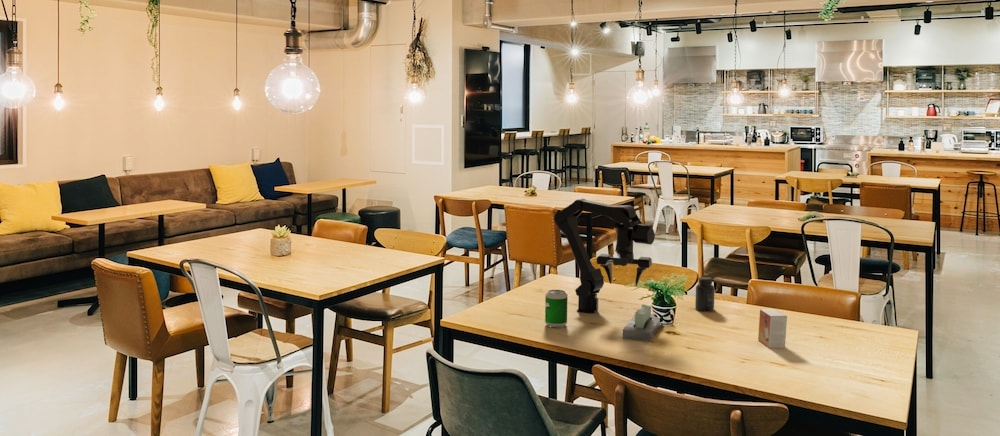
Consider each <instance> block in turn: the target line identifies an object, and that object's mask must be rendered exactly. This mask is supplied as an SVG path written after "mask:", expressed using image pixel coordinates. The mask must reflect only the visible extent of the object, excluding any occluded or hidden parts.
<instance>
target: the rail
mask: <svg viewBox="0 0 1000 436" xmlns="http://www.w3.org/2000/svg"><path fill="white" fill-rule="evenodd" d="M654 315H655V314H653V313H651V316H650V320H647V321H646V322H645V324H644V328H637V327H636V324H635V314H634V315H632V318H630V320H629V321H628V322H627V323H626V325H625V326H624V327H623V329H622V339H626V340H633V341H634V340H635V341H640V342H642V341H643V342H651V341H652V339H653V338H654V336H655V335H656V333H657V331H659V329H660V327H661V326H660V318H657V317H655V316H654Z"/></svg>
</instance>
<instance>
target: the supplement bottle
mask: <svg viewBox="0 0 1000 436" xmlns="http://www.w3.org/2000/svg"><path fill="white" fill-rule="evenodd" d="M715 290H716V289H715V286H714V285H713V278H712V277H711V276H710V277H709V276H700V277H699V278H698V284H697V285H696V286H695V299H694V301H695V305H694V307H695V310H696V311H699V312H713V311H714V310H715V294H716V293H715Z"/></svg>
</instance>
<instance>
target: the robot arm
mask: <svg viewBox="0 0 1000 436" xmlns="http://www.w3.org/2000/svg"><path fill="white" fill-rule="evenodd" d="M583 212H586V213H591V214H595V215H600V216H604V217H607V218H609V219H611V220H612V221H615V222H614V223H613V224H612V225H611V227H610V228H612V229H616V244H615V250H614V253H613V255H612V256H611V254H609V253H608V254H607V253H601V254H599V255H598V256H597V257H596V264H597V265H599V266H600V267H601V268H603V269H604V271H605V273H606V275H607V279H608V281H609V284H612V282H613V266H622V267H626V266H628V264H629V265H637V266H638V267H636V275H635V286H636V287H637V286H638V283H639V282H640V279H641V276H642V275H643V272H644V271H645V270H647V269H650V268H651V266H652V264H653V260H652V258H651V257H650V256H649V257H648V256H640V257H638V258H634V252H633V251H634V250H633V249H634V248H633V247H634V243H635V244H643V245H653V243H654V241H655V237H656V233H655V231H654V228H653V225H652V224H643V223H642V221H641V219H640V217H639V216H638V215H637V212H636V208H635V207H634V206H632V205H630V204H629V205H627V204H625V205H623V204H620V205H613V204H606V203H604V202H603V203H601V202H597V201H592V200H588V199H585V198H580V199H575V200H574V201H573V202H572V203H570V204H569V205H567V206H566V207H564V208H563V209H561V210H558V211H556V212H555V214H554V216H553V220H554V223H555V224H556V226H557V228H558V229H559V230H560V231H561V232H562V233H563V234H564V236H565V237H566V240H567V242H568V245H569V247H570V249H571V251H572V255H573V257H574V258H575V261H576V264H577V267H578V269H579V281H580V285H579V286H577V288H575V294H576V296H578V302H577V303H578V306H577V307H578V308H577V309H576V312H580V313H590V314H595V312H598V310H599V298H598V294H599V293H600V291H601V289H602V288H603V286H604V284H605V280H604V279H605V277H604V275H603V273H602V270H601V268H596V267H594V266H593V264H592V262H591V261H592V260H591V259H590V257H589V255H588V252H587V250H586V246H585V245H584V242H583V239H582V237H581V235H580V233H579V229H578V225H579V221H578V217H579V216H581V214H582V213H583ZM612 264H613V265H612Z"/></svg>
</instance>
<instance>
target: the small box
mask: <svg viewBox="0 0 1000 436" xmlns="http://www.w3.org/2000/svg"><path fill="white" fill-rule="evenodd" d="M758 321H759V322H758V335H757V336H758V338H757V341H758V342H760V343H762V344H763V345H764V346H766V348H768V349H776V348H777V349H780V348H781V349H782V348H786V341H787V339H786V338H787V325H788V324H787V323H788V322H787V321H788V316H787V315H786V314H784V313H782V312H781V311H780V310H778V309H777V308H776V309H774V308H770V309H769V308H767V309H766V308H765V309H763V308H762V309H760V310H759V320H758Z"/></svg>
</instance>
